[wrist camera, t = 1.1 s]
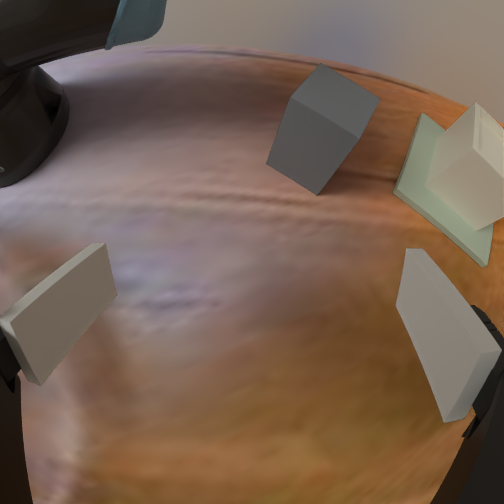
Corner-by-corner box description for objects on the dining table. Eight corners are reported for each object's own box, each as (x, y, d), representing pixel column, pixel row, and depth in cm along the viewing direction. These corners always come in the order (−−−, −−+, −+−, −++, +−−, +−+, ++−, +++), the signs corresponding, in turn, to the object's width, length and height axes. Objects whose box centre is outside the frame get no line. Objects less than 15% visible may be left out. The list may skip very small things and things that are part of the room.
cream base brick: (424, 186, 32) (472, 147, 24) (437, 138, 35) (475, 101, 27) (476, 231, 32) (526, 204, 24) (483, 180, 35) (524, 151, 26)
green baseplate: (392, 192, 32) (396, 189, 31) (419, 116, 37) (422, 112, 36) (482, 267, 32) (487, 265, 31) (493, 181, 37) (497, 179, 36)
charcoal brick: (265, 163, 31) (290, 97, 21) (292, 128, 33) (320, 63, 23) (317, 195, 31) (359, 138, 21) (339, 156, 33) (380, 98, 23)
